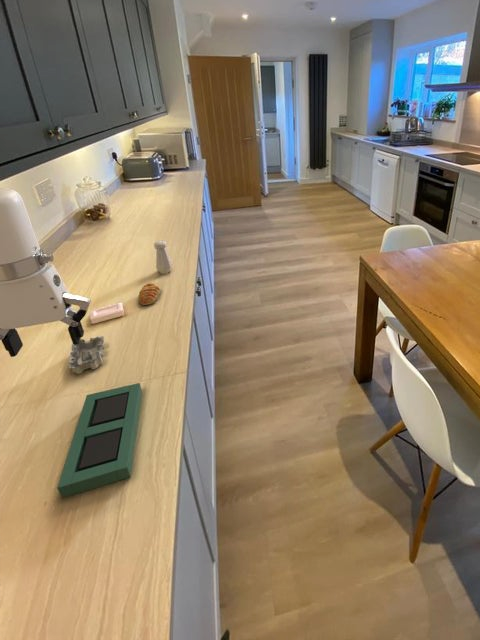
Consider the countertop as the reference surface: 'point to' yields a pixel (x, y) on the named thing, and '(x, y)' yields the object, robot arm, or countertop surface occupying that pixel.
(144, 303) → the pastry
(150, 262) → the countertop surface
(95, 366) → the egg carton
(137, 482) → the countertop surface
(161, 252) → the salt shaker
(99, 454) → the pad
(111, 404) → the pad
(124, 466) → the green double tile frame
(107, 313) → the soap bar
